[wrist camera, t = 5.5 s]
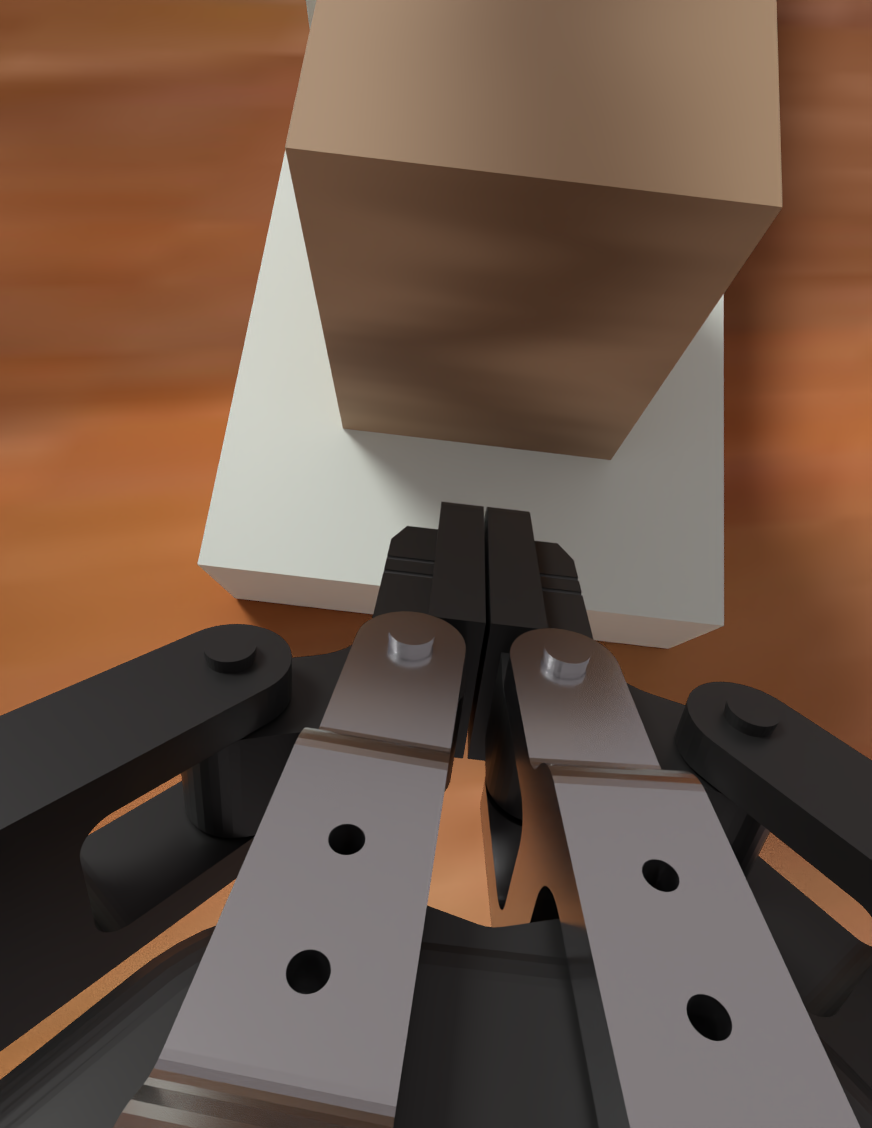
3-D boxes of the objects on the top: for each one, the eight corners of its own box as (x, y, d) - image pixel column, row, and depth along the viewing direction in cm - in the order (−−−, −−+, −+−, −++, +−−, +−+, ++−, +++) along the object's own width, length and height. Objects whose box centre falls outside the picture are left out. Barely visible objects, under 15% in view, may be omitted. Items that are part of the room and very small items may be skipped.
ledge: (234, 598, 19) (197, 564, 16) (324, 137, 23) (310, 33, 20) (668, 648, 19) (723, 625, 16) (678, 179, 23) (723, 82, 20)
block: (342, 428, 17) (284, 147, 9) (378, 207, 18) (355, -187, 11) (610, 459, 17) (782, 207, 9) (621, 236, 18) (772, -136, 11)
